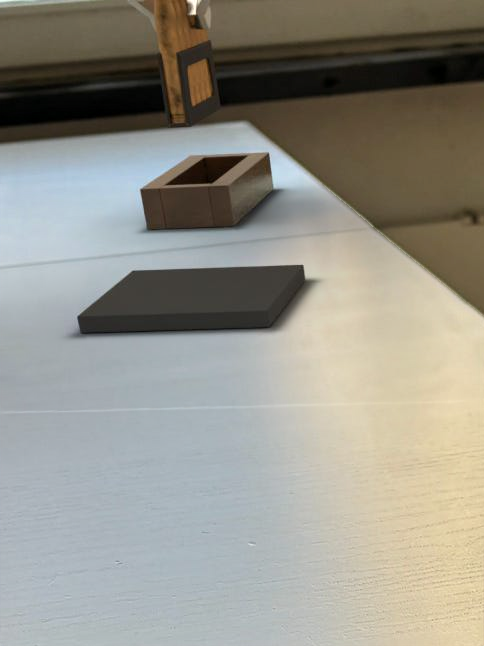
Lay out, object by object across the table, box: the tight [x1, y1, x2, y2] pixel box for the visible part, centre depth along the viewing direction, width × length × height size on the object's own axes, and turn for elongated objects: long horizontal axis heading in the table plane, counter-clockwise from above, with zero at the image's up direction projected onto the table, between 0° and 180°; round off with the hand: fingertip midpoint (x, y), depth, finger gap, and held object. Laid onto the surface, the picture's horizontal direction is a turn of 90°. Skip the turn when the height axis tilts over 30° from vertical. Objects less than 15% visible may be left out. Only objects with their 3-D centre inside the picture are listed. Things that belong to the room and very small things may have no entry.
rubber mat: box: [76, 264, 306, 334], centre depth 88 cm, size 12×12×1 cm
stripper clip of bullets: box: [154, 0, 221, 129], centre depth 108 cm, size 11×2×12 cm, turn 176°
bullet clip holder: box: [139, 151, 275, 230], centre depth 114 cm, size 7×16×3 cm, turn 175°
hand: (183, 23), depth 108 cm, fingers closed on stripper clip of bullets, 2 cm apart
